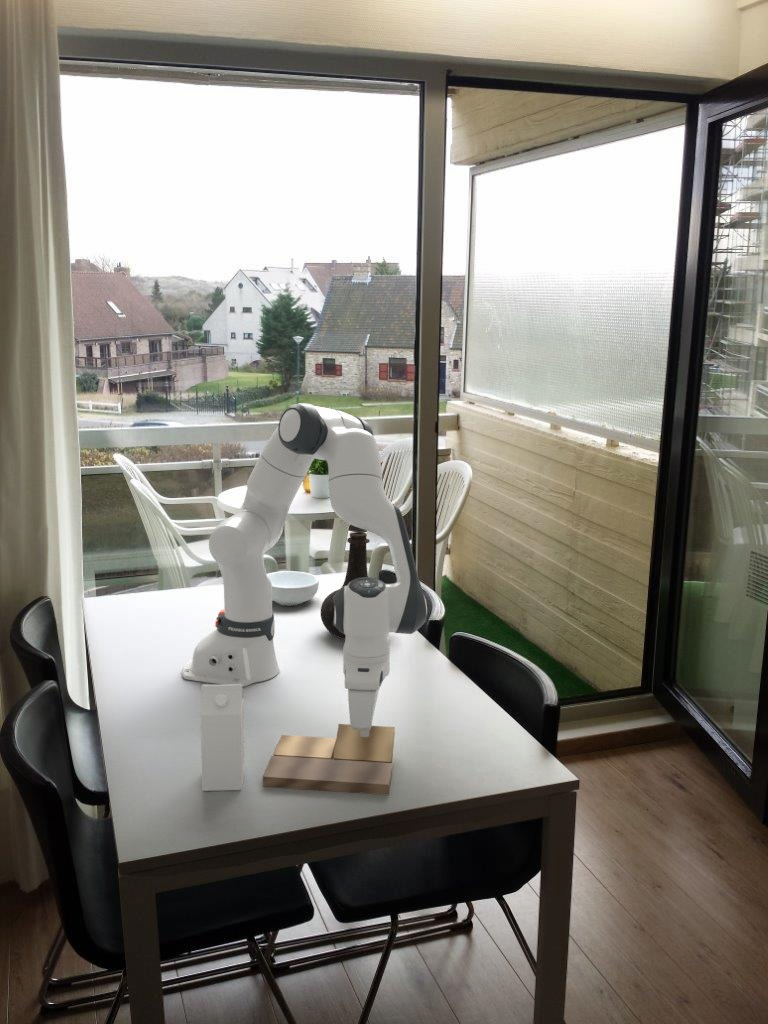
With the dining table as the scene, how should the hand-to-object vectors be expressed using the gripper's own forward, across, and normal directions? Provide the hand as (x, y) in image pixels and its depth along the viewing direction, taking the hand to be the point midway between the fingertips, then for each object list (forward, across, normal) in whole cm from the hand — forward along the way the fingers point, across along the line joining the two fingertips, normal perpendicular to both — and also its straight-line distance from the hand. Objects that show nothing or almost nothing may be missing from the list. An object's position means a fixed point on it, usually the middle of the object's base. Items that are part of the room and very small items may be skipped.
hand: (365, 731), depth 180 cm
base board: (+6, +9, -6) cm, 12 cm away
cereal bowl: (+5, -92, -31) cm, 97 cm away
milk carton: (+6, +12, -25) cm, 28 cm away
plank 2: (+4, 0, 0) cm, 4 cm away
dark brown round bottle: (+5, -67, -10) cm, 68 cm away
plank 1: (+5, +1, -12) cm, 13 cm away
